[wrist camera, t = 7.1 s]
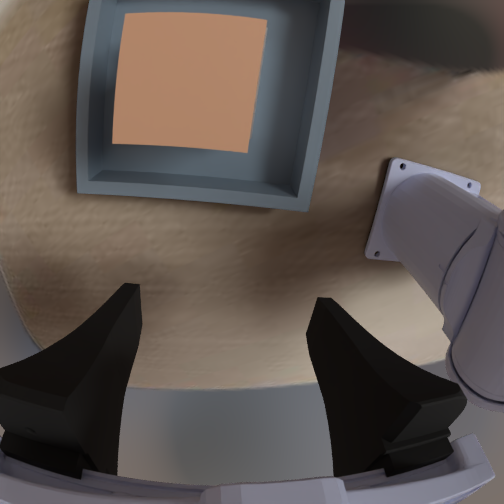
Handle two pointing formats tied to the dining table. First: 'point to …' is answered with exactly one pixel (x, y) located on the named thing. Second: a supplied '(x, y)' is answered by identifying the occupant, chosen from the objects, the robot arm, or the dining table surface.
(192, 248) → the dining table surface
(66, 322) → the dining table surface
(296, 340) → the dining table surface
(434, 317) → the dining table surface
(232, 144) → the carton
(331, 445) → the robot arm
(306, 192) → the tote
